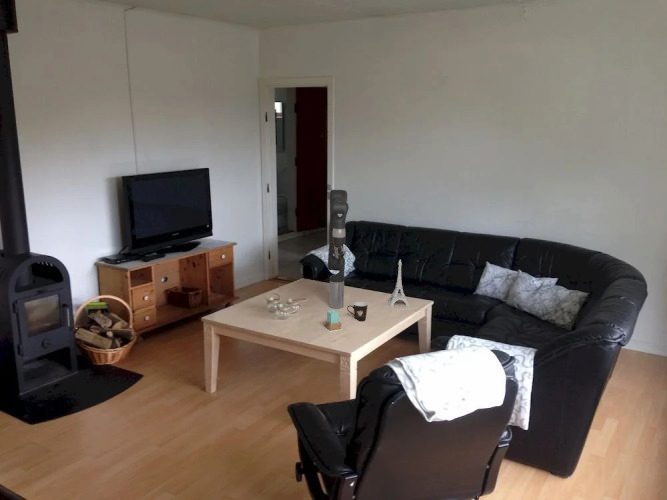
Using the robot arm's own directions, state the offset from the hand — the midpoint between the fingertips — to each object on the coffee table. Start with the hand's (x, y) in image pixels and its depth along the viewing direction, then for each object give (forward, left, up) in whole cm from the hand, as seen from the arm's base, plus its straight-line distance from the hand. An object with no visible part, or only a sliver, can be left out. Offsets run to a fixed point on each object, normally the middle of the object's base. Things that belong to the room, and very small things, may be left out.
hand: (338, 264), depth 355 cm
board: (+12, -11, -35) cm, 38 cm away
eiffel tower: (-12, +52, -35) cm, 64 cm away
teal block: (+15, -11, -29) cm, 35 cm away
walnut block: (+15, -11, -33) cm, 38 cm away
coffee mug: (+4, +12, -35) cm, 37 cm away
